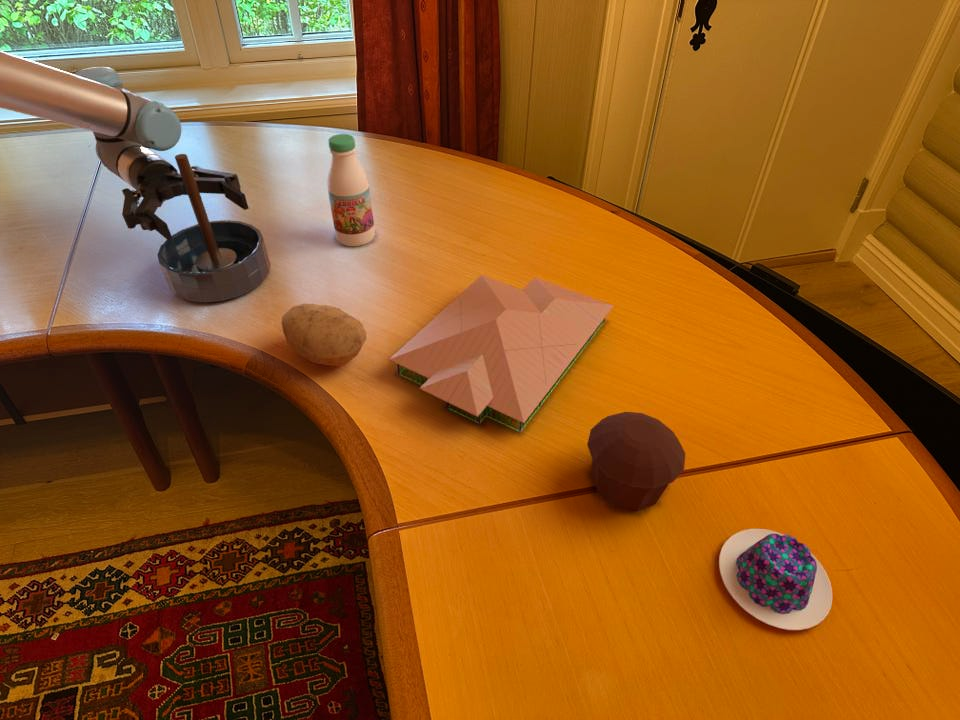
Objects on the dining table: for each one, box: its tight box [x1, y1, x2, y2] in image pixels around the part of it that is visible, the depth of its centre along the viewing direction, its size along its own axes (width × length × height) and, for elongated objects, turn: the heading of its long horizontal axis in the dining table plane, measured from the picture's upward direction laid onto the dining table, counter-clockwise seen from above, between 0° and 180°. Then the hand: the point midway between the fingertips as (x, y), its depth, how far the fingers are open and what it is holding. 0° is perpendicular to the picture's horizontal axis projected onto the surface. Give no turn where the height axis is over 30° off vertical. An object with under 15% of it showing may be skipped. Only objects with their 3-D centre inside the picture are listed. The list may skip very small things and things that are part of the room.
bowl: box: [157, 219, 272, 303], centre depth 108 cm, size 17×17×6 cm
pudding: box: [718, 528, 833, 631], centre depth 67 cm, size 12×12×5 cm
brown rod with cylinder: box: [174, 153, 239, 272], centre depth 102 cm, size 7×7×22 cm
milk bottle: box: [326, 133, 376, 247], centre depth 113 cm, size 8×8×20 cm
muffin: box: [586, 411, 686, 512], centre depth 74 cm, size 12×11×10 cm
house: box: [388, 274, 615, 433], centre depth 93 cm, size 23×33×8 cm
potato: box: [281, 303, 367, 367], centre depth 92 cm, size 10×14×8 cm
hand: (207, 216), depth 99 cm, fingers open, 13 cm apart
